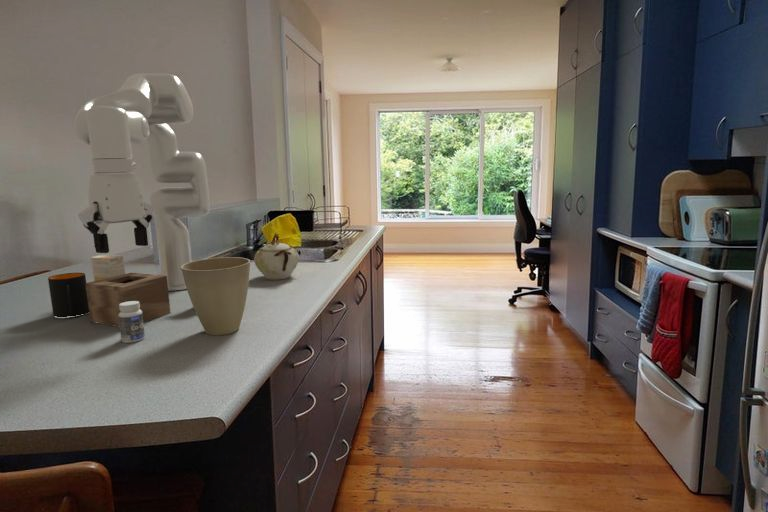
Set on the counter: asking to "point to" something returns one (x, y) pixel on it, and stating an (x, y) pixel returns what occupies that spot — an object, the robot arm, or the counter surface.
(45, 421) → the counter surface
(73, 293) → the mug
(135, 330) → the pill bottle
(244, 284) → the plant pot
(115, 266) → the supplement box
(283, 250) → the sugar bowl
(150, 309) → the box
